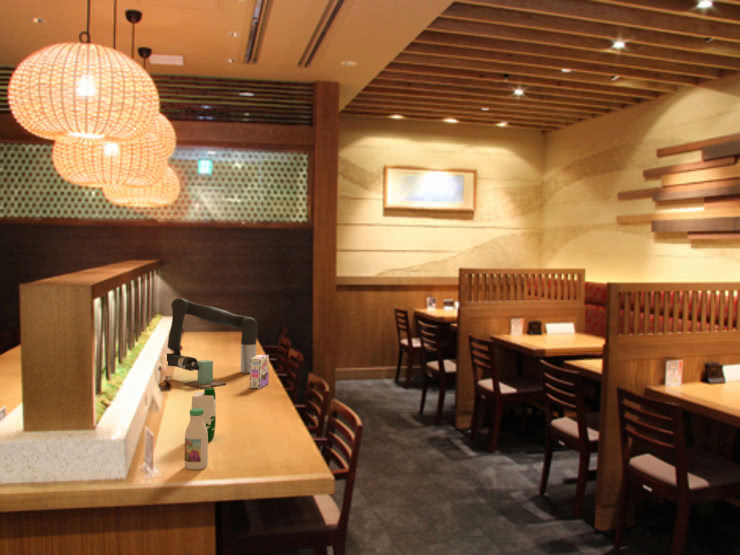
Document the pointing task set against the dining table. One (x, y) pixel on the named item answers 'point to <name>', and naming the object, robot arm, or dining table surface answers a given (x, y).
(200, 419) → the milk bottle
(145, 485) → the dining table surface
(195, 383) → the walnut base
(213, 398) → the white green-capped container
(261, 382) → the candy box
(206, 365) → the teal cap
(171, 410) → the dining table surface
